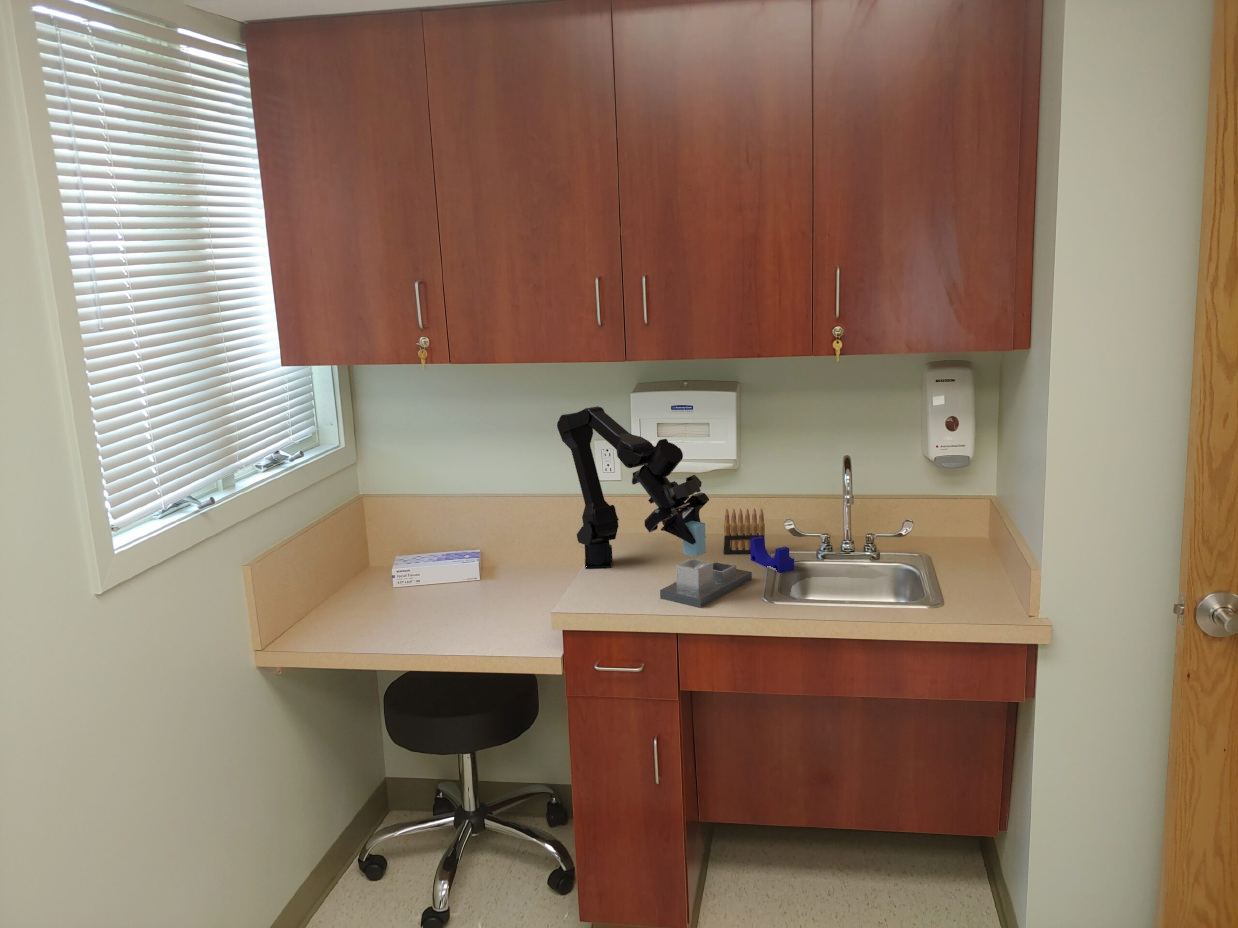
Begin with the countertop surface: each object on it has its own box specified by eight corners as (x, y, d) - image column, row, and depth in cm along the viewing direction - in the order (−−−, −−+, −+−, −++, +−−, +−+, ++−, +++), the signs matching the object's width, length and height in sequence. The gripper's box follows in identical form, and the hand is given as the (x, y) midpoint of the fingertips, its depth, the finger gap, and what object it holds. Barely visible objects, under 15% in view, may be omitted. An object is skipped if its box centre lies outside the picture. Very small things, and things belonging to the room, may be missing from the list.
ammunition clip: (723, 554, 253) (723, 509, 250) (723, 552, 255) (722, 507, 252) (765, 554, 252) (765, 509, 250) (764, 552, 254) (764, 507, 251)
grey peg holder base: (700, 607, 216) (700, 575, 214) (660, 598, 223) (659, 566, 221) (752, 579, 233) (751, 549, 231) (713, 571, 240) (712, 542, 238)
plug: (696, 556, 219) (696, 526, 218) (683, 554, 222) (682, 524, 220) (705, 552, 222) (705, 522, 221) (692, 550, 224) (691, 520, 223)
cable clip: (794, 570, 239) (794, 546, 238) (779, 573, 237) (779, 549, 236) (765, 557, 250) (765, 535, 249) (750, 560, 248) (750, 537, 247)
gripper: (653, 474, 213) (696, 530, 209) (701, 458, 227) (742, 510, 223) (626, 504, 220) (667, 559, 215) (674, 487, 234) (714, 538, 229)
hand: (699, 541), depth 220 cm, fingers closed on plug, 4 cm apart
